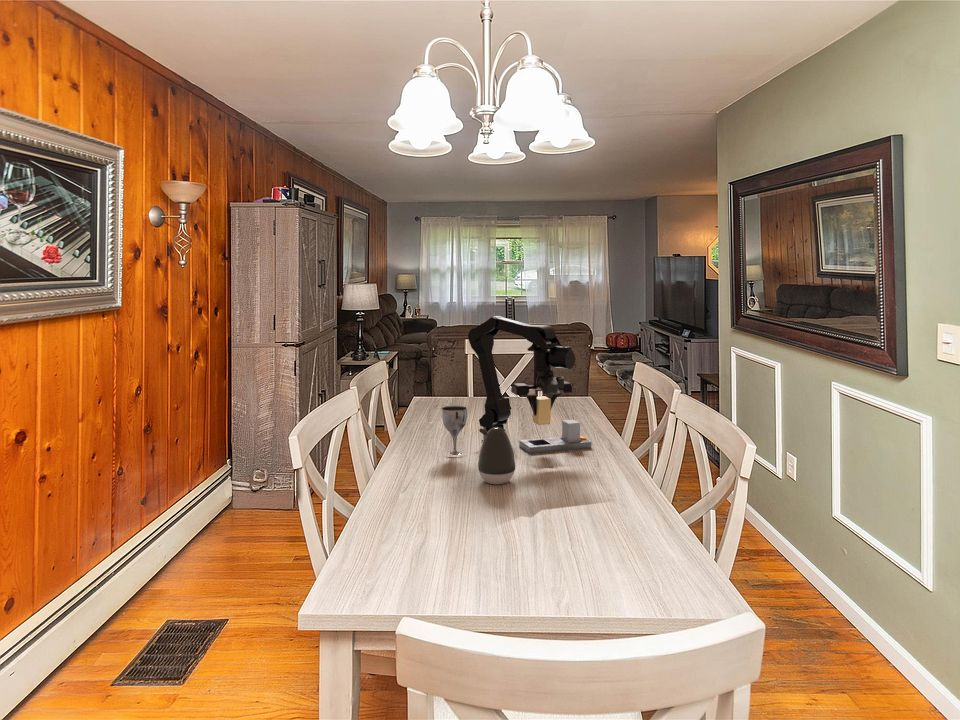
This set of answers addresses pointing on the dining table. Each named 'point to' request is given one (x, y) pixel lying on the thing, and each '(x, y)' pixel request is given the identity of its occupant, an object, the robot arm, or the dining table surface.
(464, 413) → the wine glass
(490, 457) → the dark grey egg shape
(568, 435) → the grey-blue plug
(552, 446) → the grey socket board
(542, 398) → the ochre plug
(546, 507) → the dining table surface
